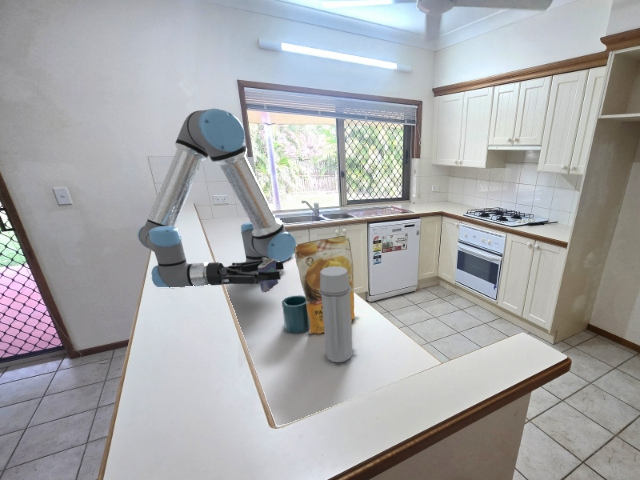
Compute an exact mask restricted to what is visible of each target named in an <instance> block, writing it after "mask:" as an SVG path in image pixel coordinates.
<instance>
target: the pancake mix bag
mask: <svg viewBox="0 0 640 480" xmlns="http://www.w3.org/2000/svg"><path fill="white" fill-rule="evenodd" d="M294 258H295V263H296V266H297V269H298V274H299V279H300V285H301V288H302V291H303V294H304V296H305V298H306V305H307V311H308V314H309V319H310V328H309V329H308V334H309V335H311V334H317V335H319V334H320V335H321V334H325V333H324V320H323V307H322V295H321V294H320V292H319V289H320V271H321V270H322V269H324V268H327V267H334V266H336V267H343V268H346V269H347V271H348V278H349V285H350V286H351V292H350V301H351V324H353V320H355V319H356V315H355V274H354V263H353V262H354V261H353V254H352V246H351V242H350V237H347V236H346V235H338V236H334V237H329V238H321V239H315V240H311V241H306V242H302V243H298V244H296V247H295V248H294ZM321 292H322V291H321Z"/></svg>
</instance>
